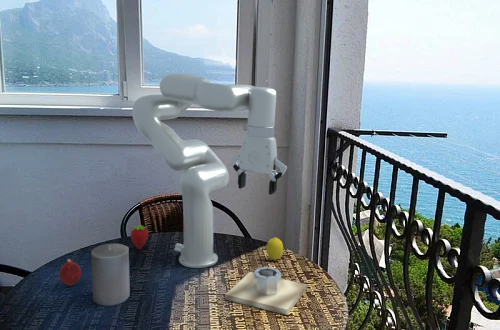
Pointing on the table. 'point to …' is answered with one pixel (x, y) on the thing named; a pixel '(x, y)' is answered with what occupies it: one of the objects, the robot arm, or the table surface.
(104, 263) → the pillar candle
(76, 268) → the onion
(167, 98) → the robot arm
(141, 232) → the strawberry
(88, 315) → the table surface
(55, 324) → the table surface
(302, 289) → the post board
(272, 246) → the lemon
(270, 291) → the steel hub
